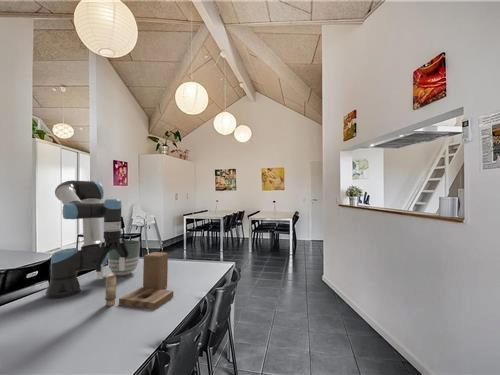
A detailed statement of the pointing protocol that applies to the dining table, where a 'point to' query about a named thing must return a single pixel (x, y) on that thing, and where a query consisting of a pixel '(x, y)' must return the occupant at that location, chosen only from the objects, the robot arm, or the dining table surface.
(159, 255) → the wooden block
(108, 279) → the peg
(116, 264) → the planter
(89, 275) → the dining table surface
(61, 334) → the dining table surface
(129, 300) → the seat board
